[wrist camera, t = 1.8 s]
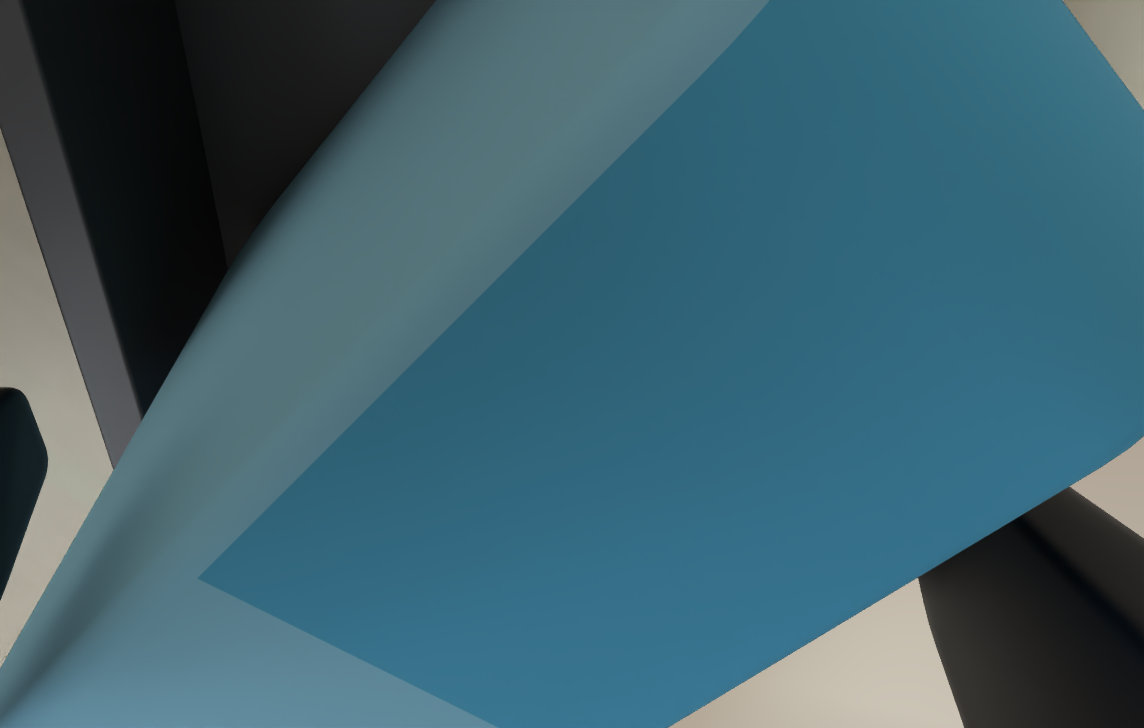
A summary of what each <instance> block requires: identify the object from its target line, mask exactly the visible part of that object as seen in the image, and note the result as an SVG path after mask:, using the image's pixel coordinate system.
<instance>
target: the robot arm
mask: <svg viewBox="0 0 1144 728" xmlns="http://www.w3.org/2000/svg"><path fill="white" fill-rule="evenodd" d="M47 467H48V456H47V450H46V447H45V444H44V442H43V439H42V436H41V434H40V431H39V428H38V426H37V423H36V420H35V418H34V415H33V413H32V410H31V407H30V405H29V402H28V400H27V398H26V396H25V395H24V394H23V393H22V392H21V391H20V390H18V389H15V388H10V387H0V600H1V598H2V595H3V593H4V590H5V588H6V585H7V582H8V580H9V577H10V574H11V571H12V568H13V566H14V563H15V560H16V557H17V554H18V552H19V549H20V546H21V543H22V541H23V538H24V535H25V532H26V529H27V527H28V524H29V521H30V518H31V515H32V513H33V510H34V507H35V504H36V502H37V499H38V496H39V493H40V490H41V488H42V485H43V482H44V479H45V476H46V473H47ZM918 579H919V584H920V588H921V593H922V597H923V602H924V606H925V610H926V614H927V618H928V622H929V625H930V628H931V631H932V635H933V638H934V641H935V644H936V647H937V650H938V653H939V656H940V659H941V662H942V664H943V667H944V670H945V673H946V676H947V679H948V682H949V685H950V687H951V690H952V693H953V696H954V699H955V702H956V705H957V708H958V710H959V713H960V716H961V719H962V722H963V725H964V728H1144V538H1142V537H1141V536H1139V535H1138V534H1137V533H1135V532H1134V531H1132V530H1131V529H1129V528H1128V527H1126V526H1125V525H1124V524H1122V523H1121V522H1119V521H1118V520H1116V519H1115V518H1114V517H1112V516H1111V515H1109V514H1108V513H1106V512H1105V511H1104V510H1102V509H1101V508H1099V507H1098V506H1096V505H1095V504H1093V503H1092V502H1091V501H1089V500H1088V499H1086V498H1085V497H1084V496H1082V495H1081V494H1079V493H1078V492H1076V491H1075V490H1073V489H1072V488H1071V487H1067V488H1066V489H1064V490H1062V491H1061V492H1059V493H1057V494H1056V495H1054V496H1052V497H1051V498H1049V499H1047V500H1046V501H1044V502H1042V503H1041V504H1039V505H1037V506H1036V507H1034V508H1032V509H1031V510H1029V511H1027V512H1026V513H1024V514H1022V515H1021V516H1019V517H1017V518H1016V519H1014V520H1012V521H1011V522H1009V523H1008V524H1006V525H1004V526H1003V527H1001V528H999V529H998V530H996V531H994V532H993V533H991V534H989V535H988V536H986V537H984V538H983V539H981V540H979V541H978V542H976V543H974V544H973V545H971V546H969V547H968V548H966V549H964V550H963V551H961V552H959V553H958V554H956V555H954V556H953V557H951V558H949V559H948V560H946V561H944V562H943V563H941V564H939V565H938V566H936V567H934V568H933V569H931V570H929V571H928V572H926V573H924V574H923V575H921V576H919V577H918Z"/></svg>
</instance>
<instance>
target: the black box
mask: <svg viewBox="0 0 1144 728" xmlns="http://www.w3.org/2000/svg"><path fill="white" fill-rule="evenodd" d="M435 1H436V0H0V128H1V131H2V134H3V137H4V140H5V143H6V146H7V149H8V152H9V155H10V158H11V161H12V165H13V168H14V171H15V174H16V177H17V180H18V183H19V186H20V189H21V192H22V195H23V198H24V201H25V204H26V207H27V210H28V213H29V216H30V219H31V222H32V225H33V228H34V231H35V234H36V237H37V240H38V243H39V246H40V249H41V252H42V255H43V258H44V261H45V264H46V267H47V270H48V273H49V276H50V279H51V282H52V285H53V288H54V291H55V294H56V297H57V301H58V304H59V307H60V310H61V313H62V316H63V319H64V322H65V325H66V328H67V331H68V334H69V337H70V340H71V343H72V346H73V349H74V352H75V355H76V358H77V361H78V364H79V367H80V370H81V373H82V376H83V379H84V382H85V385H86V388H87V391H88V394H89V397H90V400H91V403H92V406H93V409H94V412H95V415H96V418H97V421H98V424H99V427H100V430H101V434H102V437H103V440H104V443H105V446H106V449H107V452H108V455H109V458H110V461H111V464H112V467H113V470H114V469H115V467H116V465H117V463H118V462H119V460H120V458H121V456H122V455H123V453H124V451H125V449H126V448H127V446H128V444H129V442H130V441H131V439H132V437H133V435H134V434H135V432H136V430H137V428H138V427H139V425H140V423H141V421H142V420H143V418H144V416H145V414H146V413H147V411H148V409H149V407H150V406H151V404H152V402H153V400H154V399H155V397H156V395H157V393H158V392H159V390H160V388H161V386H162V385H163V383H164V381H165V379H166V378H167V376H168V374H169V373H170V371H171V369H172V367H173V366H174V364H175V362H176V360H177V359H178V357H179V355H180V353H181V352H182V350H183V348H184V346H185V345H186V343H187V341H188V339H189V338H190V336H191V334H192V332H193V331H194V329H195V327H196V325H197V324H198V322H199V320H200V318H201V317H202V315H203V313H204V311H205V310H206V308H207V306H208V304H209V303H210V301H211V299H212V297H213V296H214V294H215V292H216V290H217V289H218V287H219V285H220V283H221V282H222V280H223V278H224V276H225V275H226V273H227V271H228V270H229V268H230V266H231V265H232V263H233V262H234V260H235V259H236V257H237V255H238V254H239V252H240V251H241V249H242V248H243V247H244V245H245V244H246V242H247V241H248V239H249V238H250V236H251V235H252V233H253V232H254V231H255V229H256V228H257V226H258V225H259V224H260V222H261V221H262V220H263V218H264V217H265V215H266V214H267V213H268V211H269V210H270V209H271V207H272V206H273V205H274V203H275V202H276V201H277V200H278V198H279V197H280V196H281V194H282V193H283V192H284V191H285V189H286V188H287V187H288V186H289V184H290V183H291V182H292V181H293V179H294V178H295V177H296V176H297V174H298V173H299V172H300V171H301V169H302V168H303V167H304V165H305V164H306V163H307V162H308V160H309V159H310V158H311V157H312V155H313V154H314V153H315V152H316V150H317V149H318V148H319V147H320V145H321V144H322V143H323V142H324V140H325V139H326V138H327V137H328V135H329V134H330V133H331V132H332V130H333V129H334V128H335V127H336V125H337V124H338V123H339V122H340V120H341V119H342V118H343V117H344V115H345V114H346V113H347V112H348V110H349V109H350V108H351V107H352V105H353V104H354V103H355V101H356V100H357V99H358V98H359V96H360V95H361V94H362V93H363V91H364V90H365V89H366V88H367V86H368V85H369V84H370V83H371V81H372V80H373V79H374V78H375V76H376V75H377V74H378V73H379V71H380V70H381V69H382V68H383V66H384V65H385V64H386V63H387V61H388V60H389V59H390V58H391V56H392V55H393V54H394V53H395V51H396V50H397V49H398V48H399V46H400V45H401V44H402V43H403V41H404V40H405V39H406V38H407V36H408V35H409V34H410V32H411V31H412V30H413V29H414V27H415V26H416V25H417V24H418V22H419V21H420V20H421V19H422V17H423V16H424V15H425V14H426V12H427V11H428V10H429V9H430V7H431V6H432V5H433V4H434V2H435Z"/></svg>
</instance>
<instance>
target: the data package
mask: <svg viewBox="0 0 1144 728" xmlns="http://www.w3.org/2000/svg"><path fill="white" fill-rule="evenodd" d="M1143 436H1144V110H1143V109H1142V107H1141V106H1140V105H1139V103H1138V102H1137V101H1136V99H1135V98H1134V96H1133V95H1132V94H1131V92H1130V91H1129V90H1128V88H1127V87H1126V86H1125V84H1124V83H1123V82H1122V80H1121V79H1120V78H1119V76H1118V75H1117V74H1116V72H1115V71H1114V70H1113V68H1112V67H1111V65H1110V64H1109V63H1108V61H1107V60H1106V59H1105V57H1104V56H1103V55H1102V53H1101V52H1100V51H1099V49H1098V48H1097V47H1096V45H1095V44H1094V43H1093V41H1092V40H1091V39H1090V37H1089V36H1088V34H1087V33H1086V32H1085V30H1084V29H1083V28H1082V26H1081V25H1080V24H1079V22H1078V21H1077V20H1076V18H1075V17H1074V16H1073V14H1072V13H1071V12H1070V10H1069V9H1068V8H1067V6H1066V5H1065V3H1064V2H1063V1H1062V0H436V1H435V2H434V4H433V5H432V6H431V7H430V9H429V10H428V11H427V12H426V14H425V15H424V16H423V17H422V19H421V20H420V21H419V22H418V24H417V25H416V26H415V27H414V29H413V30H412V31H411V32H410V34H409V35H408V36H407V38H406V39H405V40H404V41H403V43H402V44H401V45H400V46H399V48H398V49H397V50H396V51H395V53H394V54H393V55H392V56H391V58H390V59H389V60H388V61H387V63H386V64H385V65H384V66H383V68H382V69H381V70H380V71H379V73H378V74H377V75H376V76H375V78H374V79H373V80H372V81H371V83H370V84H369V85H368V86H367V88H366V89H365V90H364V91H363V93H362V94H361V95H360V96H359V98H358V99H357V100H356V101H355V103H354V104H353V105H352V107H351V108H350V109H349V110H348V112H347V113H346V114H345V115H344V117H343V118H342V119H341V120H340V122H339V123H338V124H337V125H336V127H335V128H334V129H333V130H332V132H331V133H330V134H329V135H328V137H327V138H326V139H325V140H324V142H323V143H322V144H321V145H320V147H319V148H318V149H317V150H316V152H315V153H314V154H313V155H312V157H311V158H310V159H309V160H308V162H307V163H306V164H305V165H304V167H303V168H302V169H301V171H300V172H299V173H298V174H297V176H296V177H295V178H294V179H293V181H292V182H291V183H290V184H289V186H288V187H287V188H286V189H285V191H284V192H283V193H282V194H281V196H280V197H279V198H278V200H277V201H276V202H275V203H274V205H273V206H272V207H271V209H270V210H269V211H268V213H267V214H266V215H265V217H264V218H263V220H262V221H261V222H260V224H259V225H258V226H257V228H256V229H255V231H254V232H253V233H252V235H251V236H250V238H249V239H248V241H247V242H246V244H245V245H244V247H243V248H242V249H241V251H240V252H239V254H238V255H237V257H236V259H235V260H234V262H233V263H232V265H231V266H230V268H229V270H228V271H227V273H226V275H225V276H224V278H223V280H222V282H221V283H220V285H219V287H218V289H217V290H216V292H215V294H214V296H213V297H212V299H211V301H210V303H209V304H208V306H207V308H206V310H205V311H204V313H203V315H202V317H201V318H200V320H199V322H198V324H197V325H196V327H195V329H194V331H193V332H192V334H191V336H190V338H189V339H188V341H187V343H186V345H185V346H184V348H183V350H182V352H181V353H180V355H179V357H178V359H177V360H176V362H175V364H174V366H173V367H172V369H171V371H170V373H169V374H168V376H167V378H166V379H165V381H164V383H163V385H162V386H161V388H160V390H159V392H158V393H157V395H156V397H155V399H154V400H153V402H152V404H151V406H150V407H149V409H148V411H147V413H146V414H145V416H144V418H143V420H142V421H141V423H140V425H139V427H138V428H137V430H136V432H135V434H134V435H133V437H132V439H131V441H130V442H129V444H128V446H127V448H126V449H125V451H124V453H123V455H122V456H121V458H120V460H119V462H118V463H117V465H116V467H115V469H114V470H113V472H112V474H111V476H110V477H109V479H108V481H107V483H106V484H105V486H104V488H103V490H102V491H101V493H100V495H99V497H98V498H97V500H96V502H95V504H94V505H93V507H92V509H91V511H90V512H89V514H88V516H87V518H86V519H85V521H84V523H83V525H82V526H81V528H80V530H79V532H78V533H77V535H76V537H75V539H74V540H73V542H72V544H71V546H70V547H69V549H68V551H67V553H66V554H65V556H64V558H63V560H62V561H61V563H60V565H59V567H58V568H57V570H56V572H55V574H54V575H53V577H52V579H51V581H50V582H49V584H48V586H47V588H46V589H45V591H44V593H43V595H42V596H41V598H40V600H39V601H38V603H37V605H36V607H35V608H34V610H33V612H32V614H31V615H30V617H29V619H28V621H27V622H26V624H25V626H24V628H23V629H22V631H21V633H20V635H19V636H18V638H17V640H16V642H15V643H14V645H13V647H12V649H11V650H10V652H9V654H8V656H7V657H6V659H5V661H4V663H3V664H2V666H1V668H0V728H668V727H670V726H672V725H673V724H675V723H676V722H678V721H680V720H681V719H683V718H685V717H686V716H688V715H690V714H691V713H693V712H695V711H696V710H698V709H700V708H701V707H703V706H705V705H706V704H708V703H710V702H711V701H713V700H715V699H716V698H718V697H720V696H721V695H723V694H725V693H726V692H728V691H730V690H731V689H733V688H735V687H736V686H738V685H739V684H741V683H743V682H745V681H746V680H748V679H750V678H751V677H753V676H755V675H756V674H758V673H760V672H761V671H763V670H765V669H766V668H768V667H770V666H771V665H773V664H775V663H776V662H778V661H780V660H781V659H783V658H784V657H786V656H788V655H790V654H791V653H793V652H795V651H796V650H798V649H800V648H801V647H803V646H805V645H806V644H808V643H810V642H811V641H813V640H815V639H816V638H818V637H819V636H821V635H823V634H825V633H826V632H828V631H830V630H831V629H833V628H835V627H836V626H838V625H840V624H841V623H843V622H844V621H846V620H848V619H849V618H851V617H853V616H854V615H856V614H858V613H859V612H861V611H862V610H864V609H866V608H868V607H869V606H871V605H873V604H874V603H876V602H877V601H879V600H881V599H883V598H884V597H886V596H888V595H889V594H891V593H893V592H894V591H896V590H898V589H899V588H901V587H903V586H904V585H906V584H908V583H909V582H911V581H913V580H914V579H916V578H918V577H919V576H921V575H923V574H924V573H926V572H928V571H929V570H931V569H933V568H934V567H936V566H938V565H939V564H941V563H943V562H944V561H946V560H948V559H949V558H951V557H953V556H954V555H956V554H958V553H959V552H961V551H963V550H964V549H966V548H968V547H969V546H971V545H973V544H974V543H976V542H978V541H979V540H981V539H983V538H984V537H986V536H988V535H989V534H991V533H993V532H994V531H996V530H998V529H999V528H1001V527H1003V526H1004V525H1006V524H1008V523H1009V522H1011V521H1012V520H1014V519H1016V518H1017V517H1019V516H1021V515H1022V514H1024V513H1026V512H1027V511H1029V510H1031V509H1032V508H1034V507H1036V506H1037V505H1039V504H1041V503H1042V502H1044V501H1046V500H1047V499H1049V498H1051V497H1052V496H1054V495H1056V494H1057V493H1059V492H1061V491H1062V490H1064V489H1066V488H1067V487H1069V486H1071V485H1072V484H1074V483H1076V482H1077V481H1079V480H1081V479H1082V478H1084V477H1086V476H1087V475H1089V474H1091V473H1092V472H1094V471H1096V470H1097V469H1099V468H1101V467H1102V466H1104V465H1105V464H1107V463H1108V462H1109V461H1111V460H1113V459H1114V458H1116V457H1117V456H1119V455H1120V454H1121V453H1123V452H1125V451H1126V450H1127V449H1129V448H1130V447H1131V446H1133V445H1134V444H1135V443H1136V442H1137V441H1139V440H1140V439H1141V438H1142V437H1143Z"/></svg>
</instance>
